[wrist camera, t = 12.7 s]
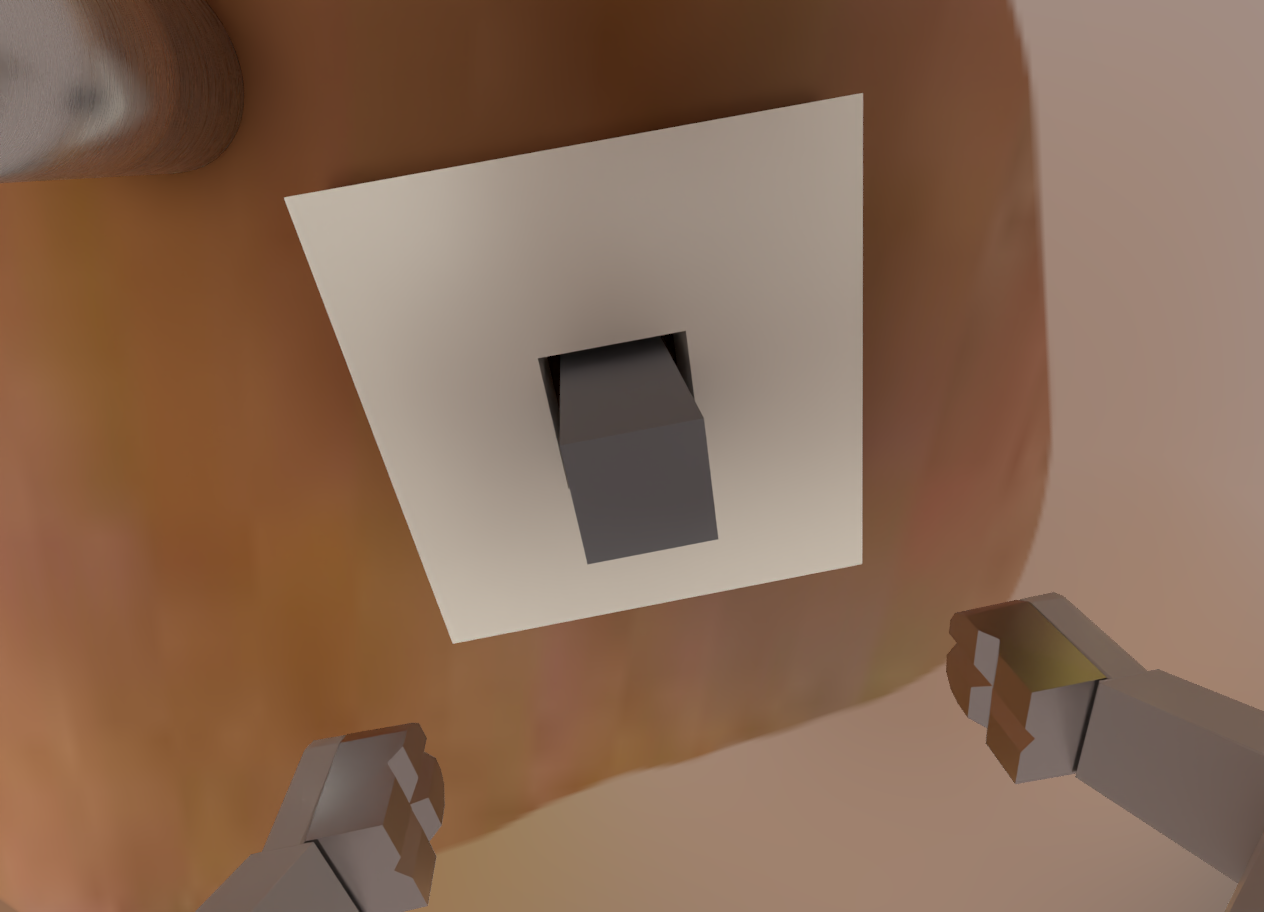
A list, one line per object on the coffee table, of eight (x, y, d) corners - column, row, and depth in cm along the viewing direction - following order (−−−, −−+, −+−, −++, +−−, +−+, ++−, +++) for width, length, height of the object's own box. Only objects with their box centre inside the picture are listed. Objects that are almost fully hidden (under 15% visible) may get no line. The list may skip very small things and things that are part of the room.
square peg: (560, 342, 23) (559, 445, 15) (654, 325, 23) (704, 418, 15) (579, 429, 25) (587, 564, 17) (667, 412, 25) (718, 539, 17)
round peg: (-16, -34, 17) (-534, -200, 9) (190, -69, 17) (-139, -265, 9) (95, 188, 20) (-234, 214, 11) (274, 155, 20) (74, 159, 12)
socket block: (327, 190, 20) (283, 197, 17) (816, 101, 20) (863, 92, 17) (465, 587, 27) (452, 643, 24) (828, 517, 28) (862, 564, 24)
